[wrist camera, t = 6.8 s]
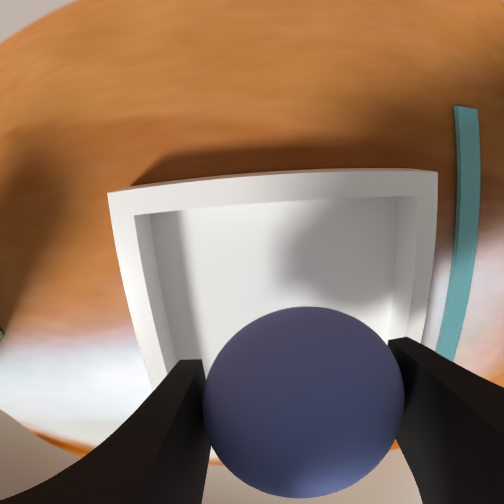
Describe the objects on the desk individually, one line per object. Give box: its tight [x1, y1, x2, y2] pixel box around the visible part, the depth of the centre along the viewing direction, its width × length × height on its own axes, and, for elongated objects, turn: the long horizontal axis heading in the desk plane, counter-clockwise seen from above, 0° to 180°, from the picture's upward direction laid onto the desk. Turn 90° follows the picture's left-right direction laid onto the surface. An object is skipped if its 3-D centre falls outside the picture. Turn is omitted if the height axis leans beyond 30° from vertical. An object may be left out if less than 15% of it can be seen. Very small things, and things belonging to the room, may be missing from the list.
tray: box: [107, 168, 438, 391], centre depth 11 cm, size 11×11×2 cm
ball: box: [202, 306, 405, 498], centre depth 7 cm, size 5×5×5 cm
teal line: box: [436, 105, 480, 362], centre depth 12 cm, size 16×1×1 cm, turn 5°
